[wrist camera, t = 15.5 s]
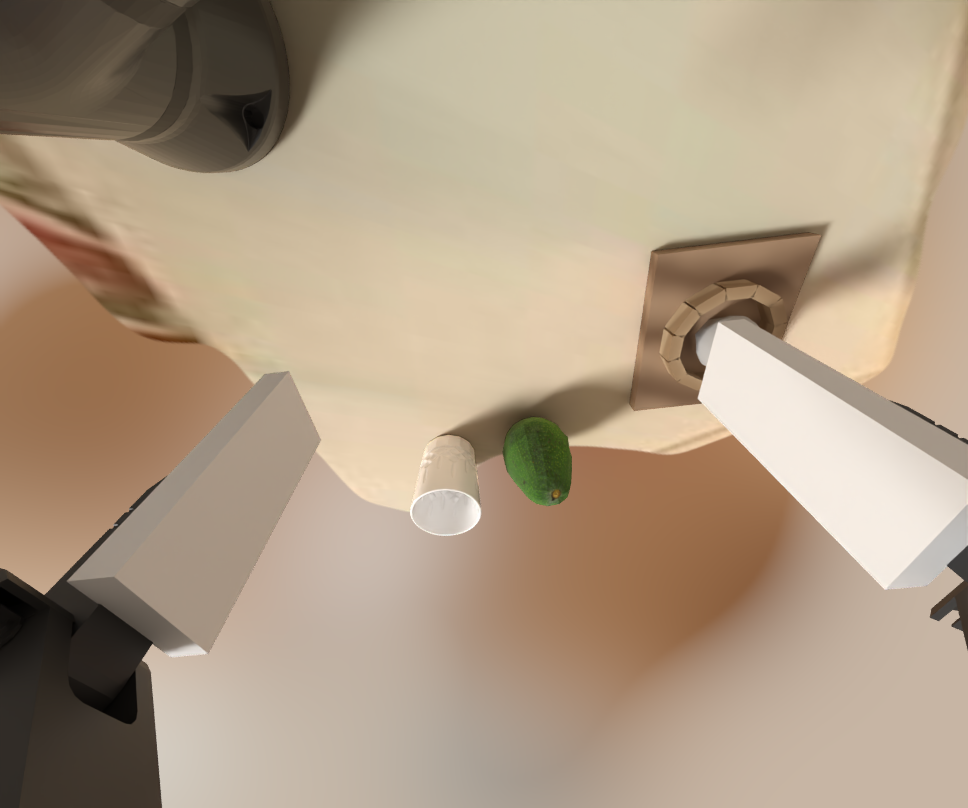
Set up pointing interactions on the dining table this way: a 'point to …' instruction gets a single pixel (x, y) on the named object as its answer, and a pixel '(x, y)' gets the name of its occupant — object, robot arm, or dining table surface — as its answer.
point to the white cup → (447, 488)
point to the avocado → (539, 460)
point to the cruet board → (692, 277)
